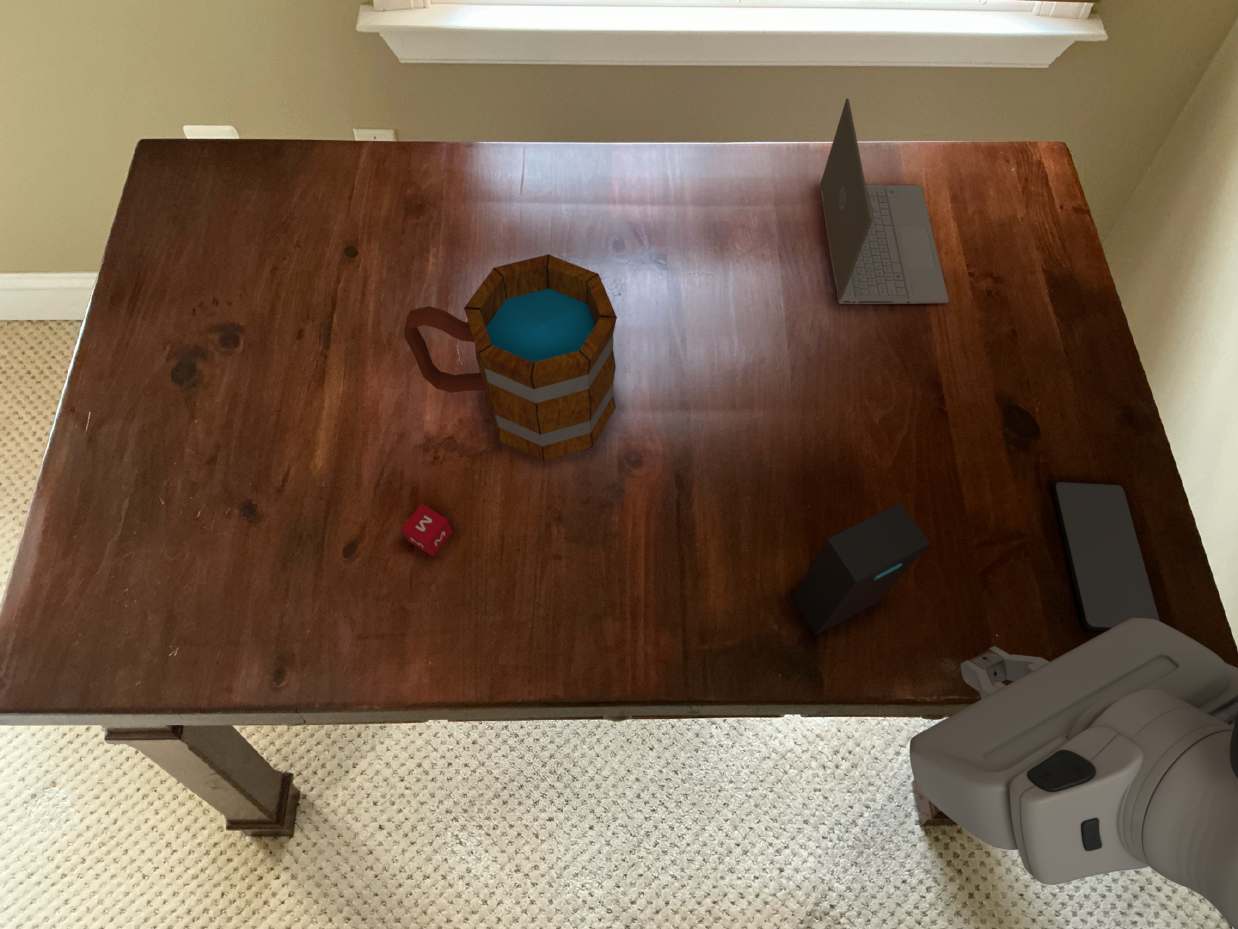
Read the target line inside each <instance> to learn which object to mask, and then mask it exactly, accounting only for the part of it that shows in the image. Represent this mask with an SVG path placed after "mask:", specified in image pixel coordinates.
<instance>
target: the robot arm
mask: <svg viewBox="0 0 1238 929" xmlns="http://www.w3.org/2000/svg"><path fill="white" fill-rule="evenodd" d="M959 666H960V671H961V677H962V680H963V681H964V682H965V683H966V684H967V685H968V686H970V687H971V688H973V689H974V690H975V691H977V692H978V693H979V696H980V699H979V700H978V701H975V702H974V703H972V704H971V705H968V706H966V707H965V708H962V709H960V710H959V711H958V712H955V713H953V714H952V715H950V716H948V717H946V718H945V719H942V720H941V721H939V722H936V724H934V725H932V726H930V727H928V728H926V729H924V730H923V731H920V732H918V733H917V734H914V735H913V736H912V737H911V739H910V741H909V763H910V769H911V771H912V772H911V773H912V775H913V779H914V782H915V784H916V786H917V788H918V790H919V791H920V793H921V795H923V796H924V798H926V799H927V800H928V801H929V802H930V803H931V804H932V805H933V806H935V807H936V808H937V809H938V810H939V811H940V812H942V813H943V814H944V815H945V816H947V817H948V818H949V819H950V820H952V821H953V822H954V823H956V824H957V825H958V826H960V827H961V828H962V829H964V830H965V831H966V832H968V833H970V834H971V835H972V836H974V837H975V838H976V839H978V840H980V841H981V842H983V843H985V844H987V845H989V846H992V847H995V848H997V849H1002V850H1007V851H1016V850H1017V851H1018V854H1019V857H1020V860H1021V863H1022V865H1023V868H1024V869H1025V871H1026V872H1027V873H1028V874H1029V875H1030V876H1031V877H1033V878H1034V880H1036V881H1037V882H1040V883H1041V884H1043V885H1047V886H1057V885H1062V884H1065V883H1069V882H1073V881H1077V880H1082V879H1086V878H1089V877H1095V876H1100V875H1104V874H1109V873H1115V872H1123V871H1132V870H1133V871H1134V870H1141V869H1146V868H1150V869H1152V870H1153V871H1155V872H1156V873H1157V874H1158V875H1160V876H1162V877H1163V878H1164V879H1166V880H1168V881H1170V882H1172V883H1175V884H1177V885H1179V886H1181V887H1184V888H1187V889H1189V890H1191V891H1192V892H1195V893H1196V894H1198V895H1199V896H1201V897H1202V898H1204V899H1205V900H1206V901H1207V902H1208V903H1210V904H1211V905H1212V906H1213V907H1214V908H1215V909H1216V910H1217V911H1218V912H1219V914H1220V915H1221V916H1222V917H1223V918H1224V920H1225V921H1226V922H1227V923H1228V924H1229V926H1231V927H1232V929H1238V667H1236V666H1234V665H1231V664H1230V663H1227V662H1225V661H1224V660H1223V659H1222V657H1220V656H1219V655H1218V654H1217V653H1215V652H1214V651H1213V650H1211V649H1209V648H1208V647H1206V646H1205V645H1203V644H1202V643H1200V642H1198V641H1196V640H1195V639H1193V638H1192V637H1190V636H1189V635H1186V634H1185V633H1183V632H1181V631H1180V630H1178V629H1175V628H1174V627H1171V626H1170V625H1168V624H1166V623H1164V622H1162V621H1161V620H1160V621H1157V620H1154V619H1148V618H1130V619H1128V620H1126V621H1124V622H1122V623H1120V624H1119V625H1117V626H1115V627H1113V628H1111V629H1109V630H1108V631H1103V632H1102V633H1100V634H1098V635H1097V636H1095V637H1093V638H1090V639H1089V640H1088V641H1085V642H1084V643H1082V644H1080V645H1078V646H1077V647H1075V648H1073V649H1071V650H1069V651H1067V652H1066V653H1063V654H1062V655H1060V656H1058V657H1056V658H1055V659H1052V660H1051V661H1049V660H1047V659H1045V658H1044V657H1041V656H1031V655H1023V654H1013V653H1012V654H1009V653H1008V652H1006V651H1004V650H1003V649H1001V648H999V647H997V646H995V645H993V646H991V647H989V648H988V649H985V650H984V651H982V652H980V653H978V654H976V655H975V656H972V657H971V658H968V659H966V660H964V661H963V662H960V665H959ZM1005 681H1011V683H1009V684H1007V685H1006V684H1005V683H1003V682H1005Z"/></svg>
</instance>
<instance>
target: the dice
mask: <svg viewBox="0 0 1238 929" xmlns="http://www.w3.org/2000/svg"><path fill="white" fill-rule="evenodd" d="M401 531H402V533H403V534H404V537H405V538H406V540H407V542H409V543H410V544H412V545H413V546H415V547H417V548H418V549H420V550H422V551H423V552H424V553H426V554H428V555H429V556H431V557H434V556H435V555H436V554H437V553H438V551H439V549H441V547H442V546H443V545H444V543H445V542H446V541H447V540H448V538H449V537H451V536H450V535H451V534H452V533H453V530H452V527H451V526H450V523H449V520H448V518H446V517H444V516H443V515H441V514H440V513H438V512H437V511H436V510H435V511H434V510H433V509H432V508H430V507H429V506H426V505H425V504H423V503H421V504H420V505H419V506H418V508H416V510H415V511H414V512H413V513H412V514H411V516H410V517H409V518H408V519H407V520H406V522H405V523H404V524H403V525H402V526H401Z"/></svg>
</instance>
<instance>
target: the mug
mask: <svg viewBox="0 0 1238 929" xmlns="http://www.w3.org/2000/svg"><path fill="white" fill-rule="evenodd" d="M463 309H464V313H465V316H466V319H467V321H464V320H461V319H460V318H458V317H456V316H454V315H453V314H451V313H449V311H446V310H444V309H440V308H437V307H433V306H431V305H430V306H429V305H427V306H424V307H420V308H414V309H411V310H409V313H408V314H407V317H406V320H405V325H404V332H403V333H404V339H405V340H406V343H407V345H408V346H409V348H410V350H411V352H412V354H413V356H414V358H415V361H416V365H417V367H418V369H419V371H420V373H421V376H422V377H423V379H424V380H426V381H427V382H428V383H429V384H430V385H432V387H434V388H435V389H436V390H440V391H444V392H447V393H461V392H477V391H485V402H486V404H487V407H488V410H489V413H490V417H491V420H492V423H493V426H494V430H495V433H496V436H497V440H498V441H499V442H500V443H503V444H505V445H507V446H510V447H512V448H514V449H516V450H518V451H521V452H523V453H525V454H527V455H529V456H532V457H534V458H536V459H538V460H541V461H543V462H545V461H549V460H551V459H555V458H560V457H563V456H566V455H569V454H573V453H577V452H580V451H583V450H587V449H591V448H593V447H594V446H595V444H596V443H597V441H598V440H599V437H600V435H601V434H602V432H603V430H604V429H605V427H606V425H607V423H608V422H609V420H610V418H611V417H612V415H613V413H614V412H615V410H616V409H617V408H616V403H615V399H614V379H615V373H616V368H617V367H616V358H615V352H614V332H615V329H616V323H617V320H618V319H617V318H618V317H617V314H616V311H615V309H614V307H613V304H612V302H611V300H610V298H609V295H608V293H607V291H606V288H605V285H604V283H603V281H602V278H601V276H600V274H599V273H598V272H595V271H592V270H591V269H587V268H585V267H583V266H579V265H577V264H575V263H572V262H570V261H567V260H564V259H563V258H560V257H557V256H554V255H552V254H543V255H539V256H535V257H531V258H527V259H524V260H520V261H514V262H511V263H507V264H503V265H499V266H495V267H493V268H492V269H491V271H489V273H488V275H487V276H486V277H485V278H484V280H483V281H482V283H481V284H480V285H479V287H478V288H477V289H476V291H475V292H474V293H473V294H472V296H471V298H470V299H469V300H468V302H467V303H466V304H465V306H464V307H463ZM423 326H427V327H431V328H433V329H437V330H441V331H442V332H444V333H446V334H447V335H449V336H451V337H452V338H454V339H456V340H458V341H461V342H468V343H469V342H470V343H474V348H475V359H476V362H477V365H478V368H479V372H468V373H461V374H460V373H459V374H452V373H449V372H444V371H442V370H440V369H439V368H438V367H437V366H436V365H435V364H434V362H433V359H432V357H431V354H430V352H429V349H428V346H427V343H426V341H425V339H424V337H423V335H422V334H421V332H420V330H419V328H418V327H423Z"/></svg>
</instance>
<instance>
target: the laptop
mask: <svg viewBox="0 0 1238 929" xmlns="http://www.w3.org/2000/svg"><path fill="white" fill-rule="evenodd" d="M843 104H844V105H843V107H842V112H841V114H840V118H839V121H838V124H837V128H836V131H835V135H834V137H833V141H832V145H831V147H830V151H829V154H828V157H827V160H826V165H825V167H824V169H823V174H822V177H821V180H820V187H819V190H820V196H821V202H822V210H823V211H822V212H823V217H824V222H825V229H826V230H825V231H826V236H827V243H828V247H829V254H830V260H831V266H832V267H831V268H832V273H833V279H834V283H835V290H836V298H837V303H838V304H841V305H901V304H902V305H905V304H906V305H907V304H914V305H915V304H948V303H949V302H950V301H949V300H950V299H949V295H948V292H947V288H946V283H945V278H944V275H943V274H944V273H943V271H942V267H941V262H940V258H939V254H938V250H937V249H938V248H937V246H936V245H937V244H936V242H935V237H934V233H933V228H932V225H931V221H930V220H931V219H930V216H929V212H928V206H927V204H926V199H925V195H924V191H923V187H922V185H919V184H866V180H865V175H864V170H863V164H862V158H861V154H860V150H859V149H860V148H859V145H858V139H857V133H856V129H855V123H854V119H853V118H854V117H853V113H852V108H851V102H850V99H849V98H845V102H844V103H843Z"/></svg>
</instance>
